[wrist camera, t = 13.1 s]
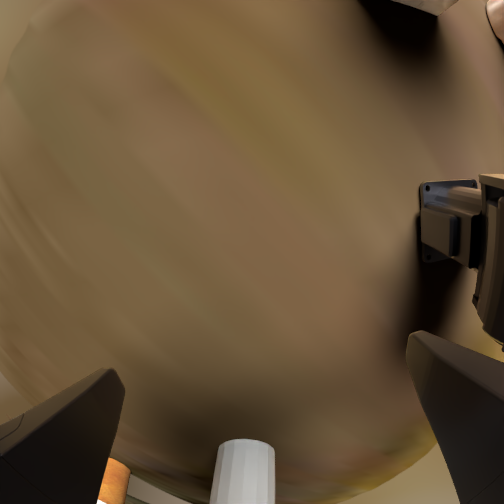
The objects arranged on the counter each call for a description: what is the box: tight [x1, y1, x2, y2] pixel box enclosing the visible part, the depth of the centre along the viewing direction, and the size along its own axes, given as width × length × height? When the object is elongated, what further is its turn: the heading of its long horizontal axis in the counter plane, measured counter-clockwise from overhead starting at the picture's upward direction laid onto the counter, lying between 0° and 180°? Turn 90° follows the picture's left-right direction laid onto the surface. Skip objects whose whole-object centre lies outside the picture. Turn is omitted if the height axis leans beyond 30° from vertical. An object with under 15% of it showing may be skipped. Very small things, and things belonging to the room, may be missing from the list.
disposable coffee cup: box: [97, 458, 131, 504], centre depth 26 cm, size 10×10×12 cm
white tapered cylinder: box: [209, 439, 275, 504], centre depth 21 cm, size 7×7×12 cm
